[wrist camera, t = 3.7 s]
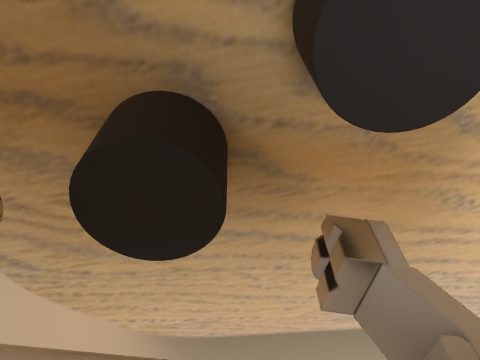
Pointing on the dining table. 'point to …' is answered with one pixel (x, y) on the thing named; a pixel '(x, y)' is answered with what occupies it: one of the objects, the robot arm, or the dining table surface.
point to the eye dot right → (391, 58)
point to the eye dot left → (153, 178)
